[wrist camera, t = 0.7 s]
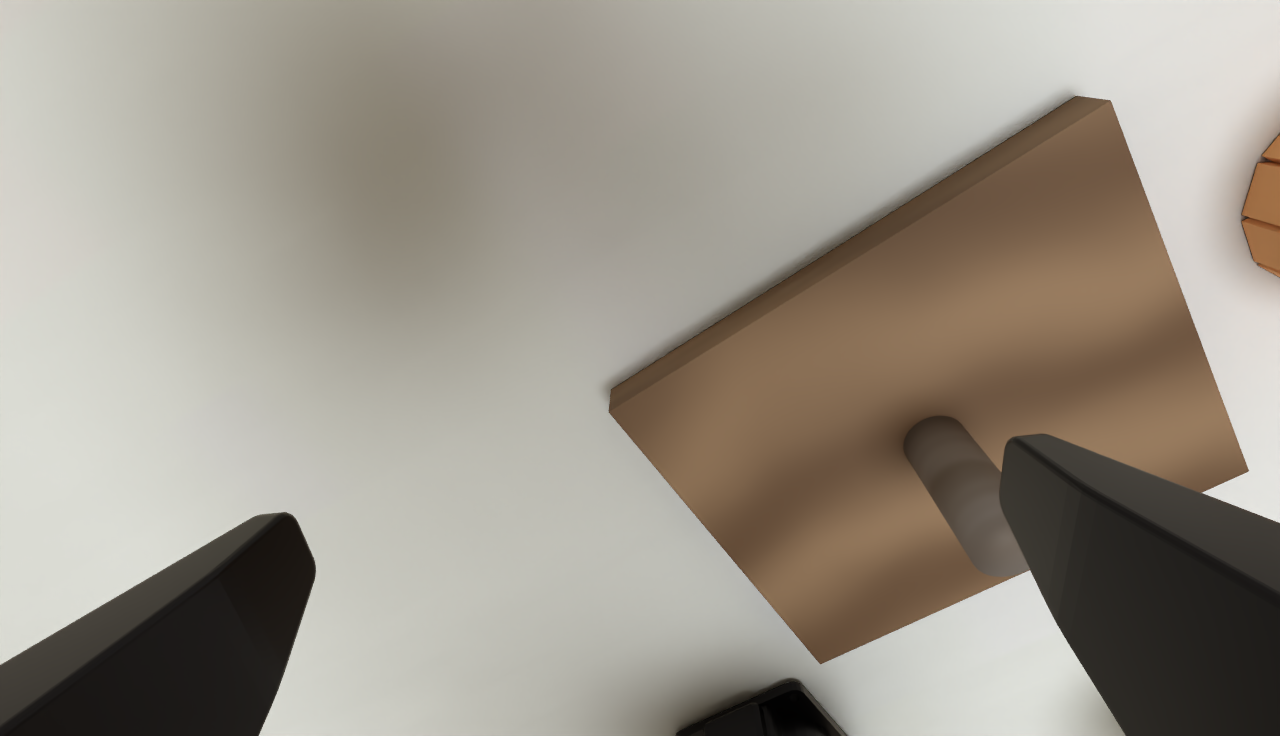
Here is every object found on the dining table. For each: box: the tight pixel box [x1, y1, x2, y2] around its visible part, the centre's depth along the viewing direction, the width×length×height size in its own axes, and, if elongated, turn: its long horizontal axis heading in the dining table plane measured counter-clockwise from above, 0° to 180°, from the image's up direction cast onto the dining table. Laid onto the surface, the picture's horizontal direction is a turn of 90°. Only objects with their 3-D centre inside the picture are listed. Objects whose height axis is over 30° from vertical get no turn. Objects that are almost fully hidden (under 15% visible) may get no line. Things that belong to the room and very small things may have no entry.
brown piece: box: [609, 96, 1249, 664], centre depth 20 cm, size 14×16×6 cm
